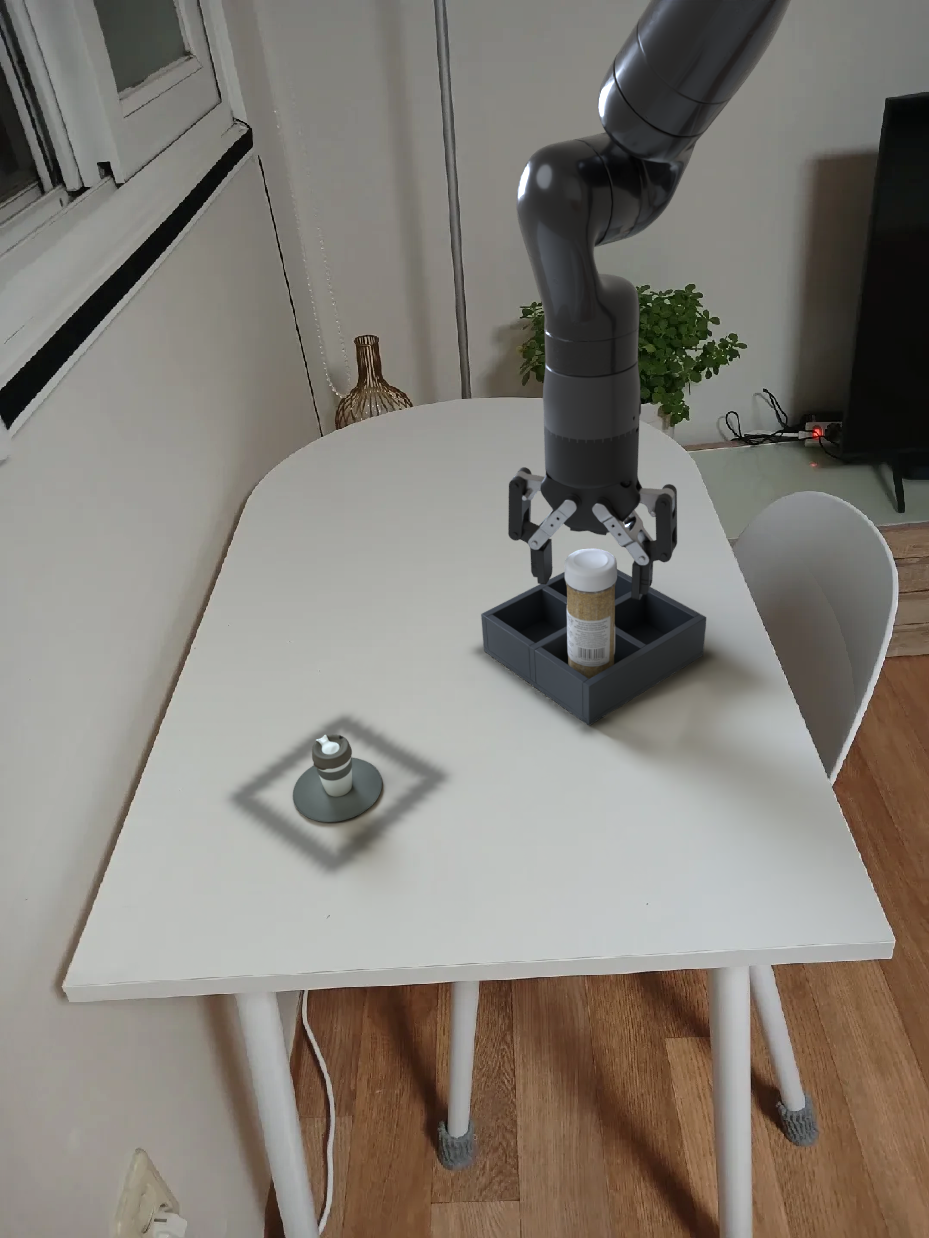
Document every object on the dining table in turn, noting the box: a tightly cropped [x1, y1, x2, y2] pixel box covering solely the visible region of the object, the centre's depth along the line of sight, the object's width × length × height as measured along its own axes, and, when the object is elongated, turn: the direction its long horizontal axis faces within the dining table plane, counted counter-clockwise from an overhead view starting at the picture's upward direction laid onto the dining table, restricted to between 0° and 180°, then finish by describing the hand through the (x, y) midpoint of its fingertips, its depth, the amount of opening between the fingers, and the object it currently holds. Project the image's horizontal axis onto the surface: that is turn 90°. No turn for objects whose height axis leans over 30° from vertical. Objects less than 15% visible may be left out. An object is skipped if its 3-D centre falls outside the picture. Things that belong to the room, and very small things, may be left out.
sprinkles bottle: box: [564, 547, 618, 679], centre depth 87 cm, size 5×5×14 cm
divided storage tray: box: [480, 568, 707, 726], centre depth 94 cm, size 15×15×5 cm
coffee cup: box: [292, 734, 383, 823], centre depth 81 cm, size 12×12×5 cm
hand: (591, 587), depth 84 cm, fingers open, 8 cm apart
